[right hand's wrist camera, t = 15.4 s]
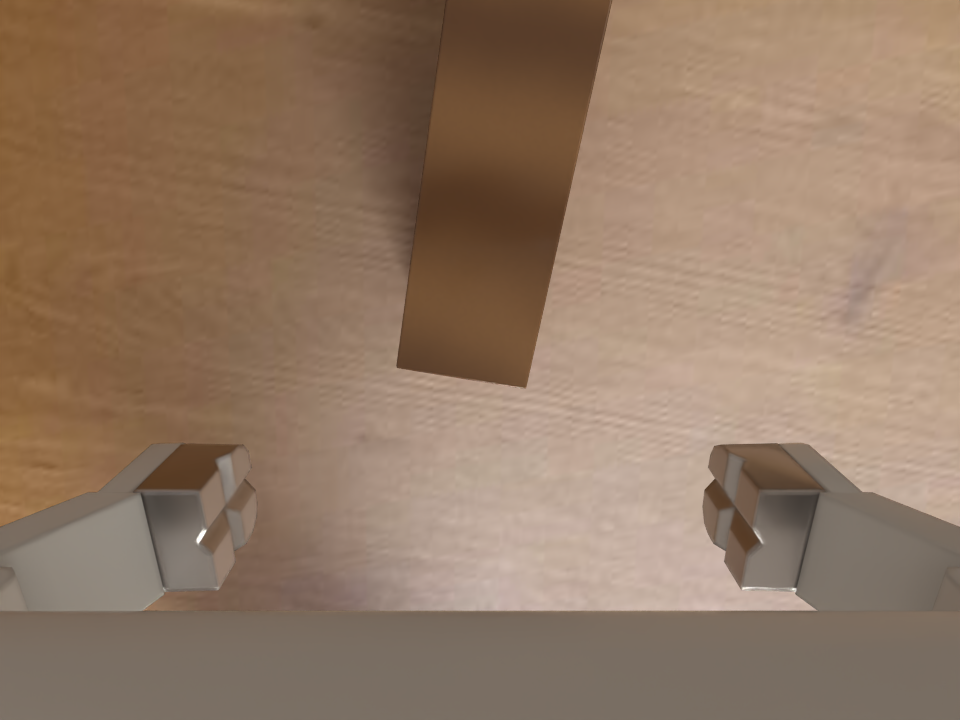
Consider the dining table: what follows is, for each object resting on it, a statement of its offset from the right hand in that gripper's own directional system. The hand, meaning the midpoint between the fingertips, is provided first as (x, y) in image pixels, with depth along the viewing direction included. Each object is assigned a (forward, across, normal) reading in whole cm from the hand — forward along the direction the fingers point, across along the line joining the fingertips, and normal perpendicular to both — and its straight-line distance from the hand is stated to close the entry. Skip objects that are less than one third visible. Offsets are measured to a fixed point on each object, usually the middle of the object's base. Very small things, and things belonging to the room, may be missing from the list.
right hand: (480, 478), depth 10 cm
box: (+26, -1, -8) cm, 27 cm away
